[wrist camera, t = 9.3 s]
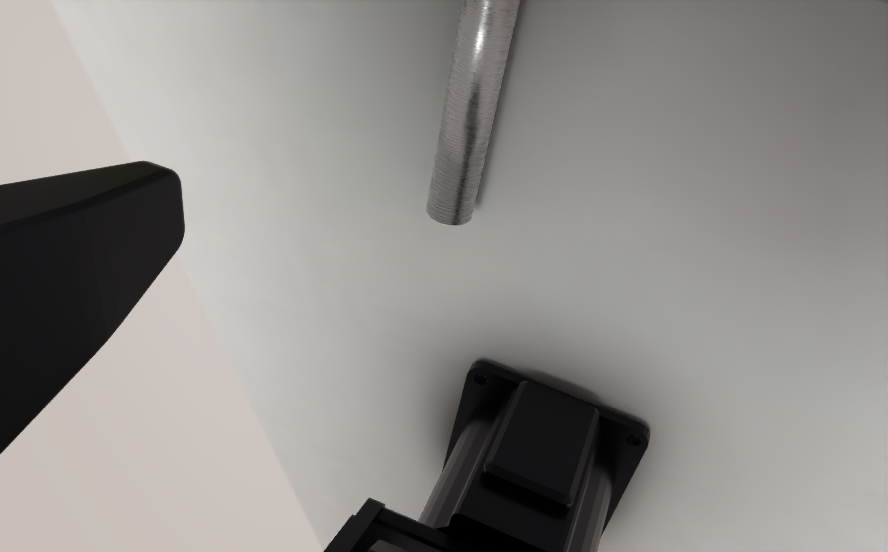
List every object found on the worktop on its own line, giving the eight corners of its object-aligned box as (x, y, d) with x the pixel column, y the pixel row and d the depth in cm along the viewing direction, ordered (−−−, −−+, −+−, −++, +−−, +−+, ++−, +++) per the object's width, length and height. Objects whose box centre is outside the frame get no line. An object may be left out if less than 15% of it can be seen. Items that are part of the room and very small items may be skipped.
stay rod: (478, 208, 23) (463, 230, 22) (436, 193, 23) (419, 214, 22) (561, -160, 17) (546, -154, 16) (503, -174, 17) (484, -169, 16)
